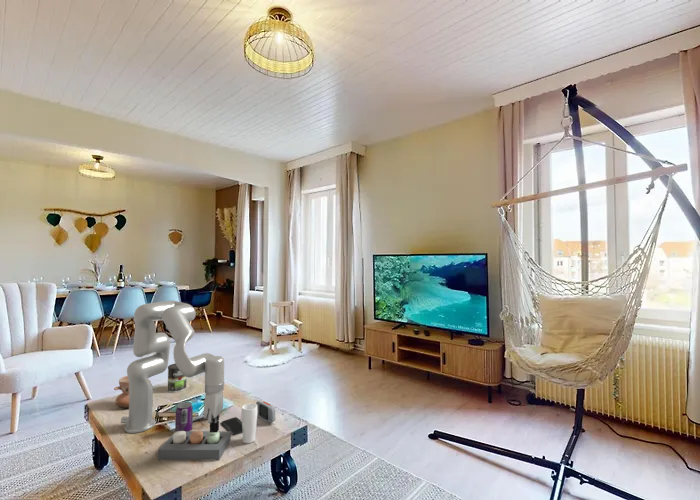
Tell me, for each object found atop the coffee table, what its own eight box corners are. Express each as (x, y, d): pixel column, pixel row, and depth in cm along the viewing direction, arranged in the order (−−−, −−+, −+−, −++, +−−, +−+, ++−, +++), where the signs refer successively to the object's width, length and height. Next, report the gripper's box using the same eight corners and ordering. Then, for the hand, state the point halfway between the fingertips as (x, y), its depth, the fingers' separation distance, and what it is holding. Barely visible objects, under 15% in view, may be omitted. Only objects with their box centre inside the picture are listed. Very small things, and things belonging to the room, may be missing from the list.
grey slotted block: (158, 459, 135) (158, 449, 135) (175, 440, 149) (175, 431, 149) (219, 459, 135) (219, 449, 135) (230, 440, 149) (230, 431, 149)
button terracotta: (187, 446, 140) (188, 437, 140) (193, 439, 144) (193, 430, 145) (199, 446, 140) (199, 437, 140) (204, 439, 145) (204, 430, 145)
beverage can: (195, 428, 159) (196, 402, 159) (184, 436, 152) (185, 409, 153) (183, 426, 161) (183, 400, 161) (171, 433, 154) (172, 407, 154)
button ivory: (170, 446, 140) (170, 436, 140) (176, 439, 144) (176, 430, 144) (182, 446, 140) (182, 437, 140) (187, 439, 144) (188, 430, 144)
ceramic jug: (118, 414, 172) (119, 385, 172) (108, 405, 181) (109, 378, 181) (156, 402, 186) (157, 376, 187) (144, 395, 195) (146, 370, 196)
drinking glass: (238, 440, 150) (238, 406, 150) (252, 434, 154) (252, 401, 155) (245, 446, 145) (246, 411, 145) (259, 440, 150) (260, 406, 150)
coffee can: (188, 389, 204) (189, 365, 204) (170, 394, 197) (170, 369, 197) (183, 384, 211) (184, 361, 212) (165, 388, 205) (165, 365, 205)
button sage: (205, 446, 140) (205, 437, 140) (209, 439, 145) (209, 430, 145) (217, 446, 140) (217, 437, 140) (221, 439, 145) (221, 430, 145)
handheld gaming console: (254, 415, 172) (254, 400, 172) (259, 413, 175) (259, 398, 175) (271, 425, 163) (272, 408, 163) (276, 423, 165) (277, 406, 165)
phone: (236, 416, 170) (249, 428, 158) (236, 419, 170) (249, 430, 158) (220, 421, 164) (233, 434, 153) (220, 424, 164) (233, 436, 153)
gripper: (212, 380, 150) (212, 422, 150) (197, 394, 135) (197, 441, 135) (229, 380, 150) (229, 422, 150) (217, 394, 135) (216, 441, 135)
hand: (214, 431), depth 142 cm, fingers closed
